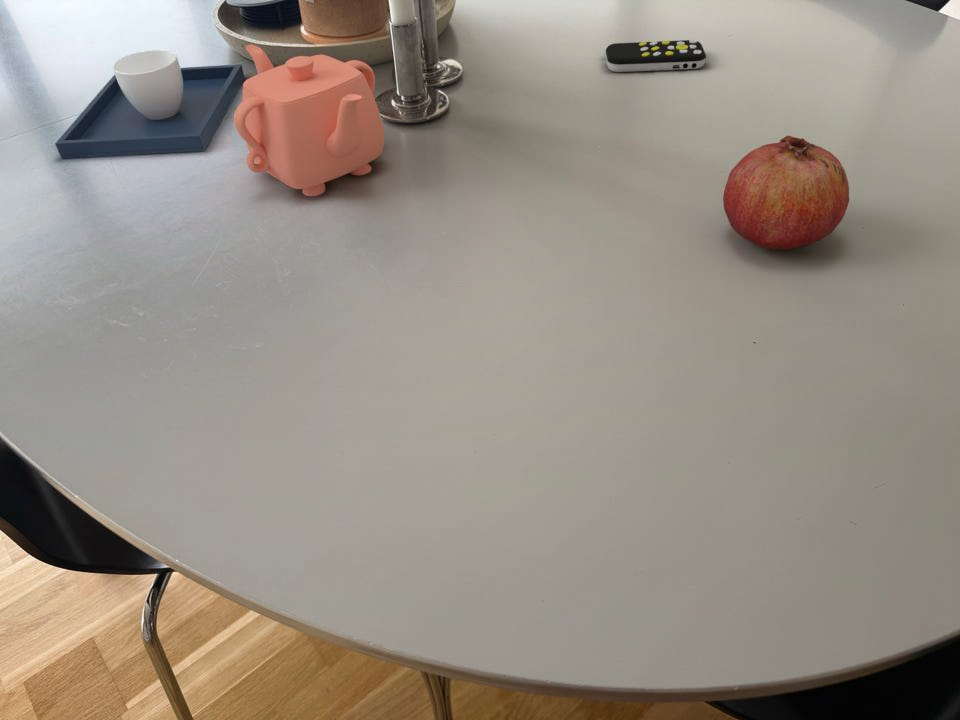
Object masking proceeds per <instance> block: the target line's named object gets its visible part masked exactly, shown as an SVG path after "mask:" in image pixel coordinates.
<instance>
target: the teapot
mask: <svg viewBox="0 0 960 720" xmlns="http://www.w3.org/2000/svg"><path fill="white" fill-rule="evenodd" d="M245 49H246V51H247V53H248V55H249V56H250V58H252V61H253V63H254V66H255V69H256V72H257V74H256V75H252V76H251V77H249V78H248V79H245V80H244V81H243V83H242V100H241V102H240V103H239V104H238V106H237V108H236V109H235V111H234V113H233V114H234V115H233V124H234V127H235V129H236V131H237V133H238V134H239V136H240V137H241V138H242V139H243V141H244V142H245V143H246V147H247V150H248V151H249V153H248V154H247V155H246V159H245V160H246V161H245V162H246V166H247V167H248V169H249V170H250V171H251V172H253V173H257V174H258V173H260V174H261V173H264V172H266V173H267V174H268V175H270V176H271V177H273V178H275V179H276V180H278V181H279V182H281V183H283V184H285V185H287V186H288V187H291V188H292V189H295V190H301V191H302V194H303V195H304V196H307V197H316V196H319V195H322V194H323V193H325V191H326V188H327V187H326V184H325V183H327V182H329V181H332V180H334V179H337V178H340V177H342V176H345V175H348V174H350V175H353V176H364V175H366V174H368V173H370V172H371V171H372V166H371V165H370V164H369V163H371V162H372V161H374V160H376V159H377V158H378V157H380V156H381V155H382V152H383V149H384V145H385V130H384V125H383V121H382V117H381V113H380V110H379V107H378V104H377V101H376V98H375V96H374V93H375V87H376V76H375V73H374V70H373V68H372V67H371V66H370V65H369V64H367V63H366V62H363V61H361V60H357V59H352V60H348V61H346V62H343V61H341V60H339V59H337V58H335V57H331V56H329V55H326V54H315V55H311V56H310V55H309V56H307V55H299V56H293V57H291V58H289V59H288V60H286V61H285V63H284V64H281V65H278V66H274V65H273V63H272V62H271V60H270V58H269V57H268V56H267V54H266V52H265V51H264V50H263V49H262V48H261V47H259V46H257V45H254V44H247V45H245ZM360 70H361V71H360Z"/></svg>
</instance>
